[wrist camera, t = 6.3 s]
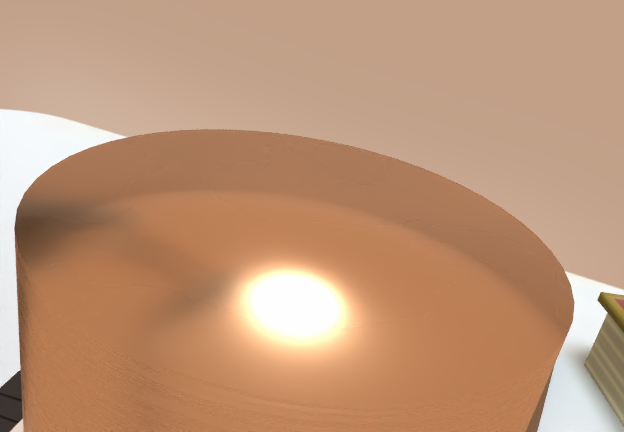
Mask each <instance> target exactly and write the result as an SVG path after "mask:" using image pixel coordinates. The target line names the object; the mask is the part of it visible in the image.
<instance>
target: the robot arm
mask: <svg viewBox="0 0 624 432" xmlns="http://www.w3.org/2000/svg"><path fill="white" fill-rule="evenodd" d="M0 432H23V411H22V388H21V370H20V371H18V372H17V373H16V374H15V375H14V376H13V377H12V378H11V379H10V380H9V381H7V382H6V383H5V384H4V385H3V386H2V387H1V388H0Z"/></svg>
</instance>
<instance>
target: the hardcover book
mask: <svg viewBox="0 0 624 432" xmlns="http://www.w3.org/2000/svg"><path fill="white" fill-rule="evenodd" d="M598 301H599V302H600V304H601V305H602V306H603V307H604V309H605V310H606V311H607V312H608V313H607V316H606V318H605V320H604V322H603V325H602V327H601V329H600V331H599V333H598V336H597V338H596V340H595V342H594V345H593V347H592V349H591V351H590V353H589V356H588V358H587V360H586V362H585V364H584V365H585V367H586V368H587V370H588V372H589V373H590V375H591V376H592V378H593V379H594V381H595V382H596V384H597V385H598V387H599V389H600V390H601V392H602V393H603V395H604V396H605V398H606V399H607V401H608V402H609V404H610V406H611V407H612V409H613V410H614V412H615V413H616V415H617V416H618V418H619V419H620V421H621V423H622V424H623V426H624V295H617V294H610V293H603V292H601V293H600V296H599V298H598Z"/></svg>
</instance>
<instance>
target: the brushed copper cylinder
mask: <svg viewBox="0 0 624 432" xmlns="http://www.w3.org/2000/svg"><path fill="white" fill-rule="evenodd" d="M15 251H16V274H17V297H18V319H19V342H20V365H21V388H22V411H23V432H526V430H527V427H528V425H529V423H530V420H531V418H532V416H533V413H534V411H535V409H536V406H537V404H538V402H539V399H540V397H541V395H542V392H543V390H544V387H545V385H546V383H547V380H548V378H549V376H550V373H551V371H552V369H553V366H554V364H555V362H556V359H557V357H558V355H559V352H560V350H561V348H562V345H563V343H564V341H565V338H566V336H567V333H568V331H569V329H570V326H571V324H572V321H573V312H574V299H573V294H572V289H571V285H570V282H569V280H568V278H567V276H566V274H565V271H564V269H563V267H562V266H561V264H560V263H559V262H558V260H557V259H556V257H555V256H554V255H553V253H552V252H551V251H550V249H549V248H548V247H547V246H546V245H545V244H544V243H543V242H542V241H541V240H540V239H539V237H537V236H536V235H535V234H534V233H533V232H532V231H531V230H530V229H528V228H527V227H526V226H525V225H524V224H523V223H522V222H520V221H519V220H517V219H516V218H515V217H513V216H512V215H511V214H509V213H508V212H506V211H505V210H504V209H502V208H501V207H499V206H497V205H496V204H494V203H492V202H491V201H489V200H488V199H486V198H484V197H483V196H481V195H479V194H477V193H475V192H473V191H471V190H469V189H468V188H466V187H464V186H462V185H460V184H458V183H455V182H453V181H451V180H449V179H447V178H445V177H442V176H440V175H438V174H435V173H433V172H430V171H428V170H425V169H423V168H420V167H417V166H415V165H412V164H409V163H406V162H403V161H400V160H398V159H395V158H391V157H388V156H385V155H381V154H378V153H375V152H371V151H367V150H363V149H360V148H356V147H352V146H348V145H343V144H338V143H334V142H329V141H324V140H318V139H312V138H307V137H301V136H294V135H287V134H279V133H270V132H259V131H243V130H182V131H170V132H160V133H152V134H146V135H139V136H133V137H128V138H124V139H119V140H115V141H110V142H107V143H104V144H101V145H97V146H94V147H91V148H88V149H86V150H83V151H81V152H79V153H76V154H74V155H72V156H69V157H68V158H66V159H64V160H62V161H61V162H59V163H57V164H55V165H54V166H52V167H51V168H49V169H48V170H47V171H46V172H44V173H43V174H42V175H41V176H39V177H38V178H37V179H36V180H35V181H34V182H33V184H32V185H31V186H30V187H29V188H28V190H27V191H26V192H25V193H24V196H23V198H22V200H21V202H20V204H19V206H18V208H17V213H16V221H15Z"/></svg>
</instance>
